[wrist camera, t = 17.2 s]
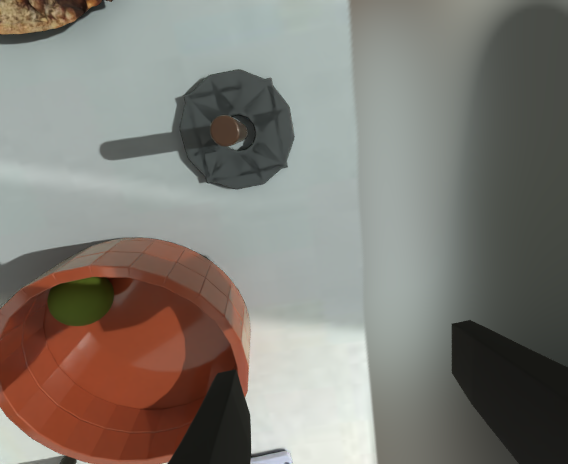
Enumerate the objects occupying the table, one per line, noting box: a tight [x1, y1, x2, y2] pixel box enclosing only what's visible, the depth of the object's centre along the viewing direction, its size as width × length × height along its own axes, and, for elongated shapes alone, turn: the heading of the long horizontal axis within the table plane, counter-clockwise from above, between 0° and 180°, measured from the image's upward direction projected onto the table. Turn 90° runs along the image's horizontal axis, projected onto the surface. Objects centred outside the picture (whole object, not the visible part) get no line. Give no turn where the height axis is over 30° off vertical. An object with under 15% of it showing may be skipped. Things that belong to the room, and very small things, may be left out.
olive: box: [47, 277, 114, 326], centre depth 16 cm, size 3×3×3 cm
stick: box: [210, 115, 247, 147], centre depth 13 cm, size 1×1×6 cm
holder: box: [180, 69, 294, 189], centre depth 16 cm, size 6×6×1 cm
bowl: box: [0, 238, 251, 464], centre depth 18 cm, size 13×13×4 cm
